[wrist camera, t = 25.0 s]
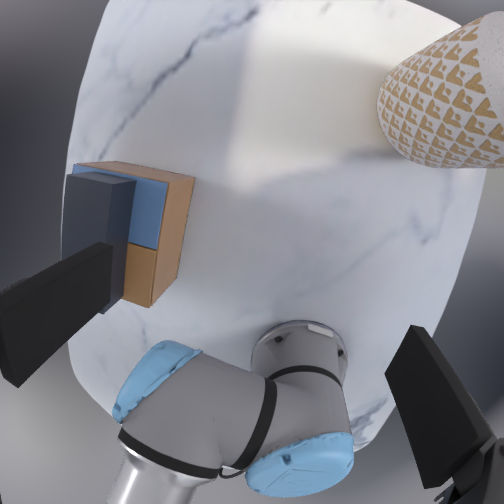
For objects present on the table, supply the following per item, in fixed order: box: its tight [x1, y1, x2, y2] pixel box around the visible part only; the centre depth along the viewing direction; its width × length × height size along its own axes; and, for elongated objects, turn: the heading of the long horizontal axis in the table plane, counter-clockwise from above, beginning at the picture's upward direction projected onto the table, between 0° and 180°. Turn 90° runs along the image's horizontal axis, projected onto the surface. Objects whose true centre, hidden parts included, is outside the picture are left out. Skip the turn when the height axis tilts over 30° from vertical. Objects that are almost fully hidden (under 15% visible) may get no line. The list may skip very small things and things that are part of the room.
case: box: [62, 171, 137, 314], centre depth 29 cm, size 14×6×5 cm, turn 165°
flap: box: [72, 164, 168, 250], centre depth 31 cm, size 7×13×1 cm, turn 75°
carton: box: [77, 161, 195, 308], centre depth 36 cm, size 15×13×10 cm
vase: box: [377, 11, 504, 169], centre depth 19 cm, size 14×14×31 cm
